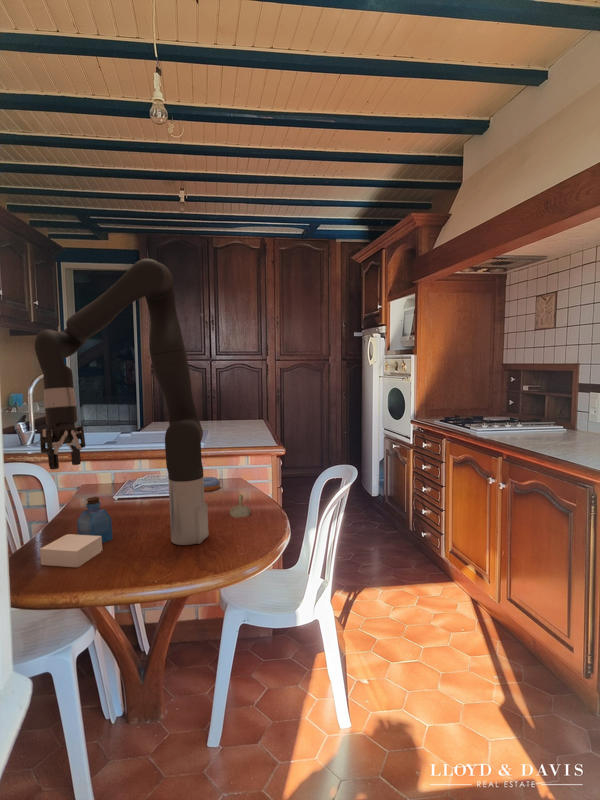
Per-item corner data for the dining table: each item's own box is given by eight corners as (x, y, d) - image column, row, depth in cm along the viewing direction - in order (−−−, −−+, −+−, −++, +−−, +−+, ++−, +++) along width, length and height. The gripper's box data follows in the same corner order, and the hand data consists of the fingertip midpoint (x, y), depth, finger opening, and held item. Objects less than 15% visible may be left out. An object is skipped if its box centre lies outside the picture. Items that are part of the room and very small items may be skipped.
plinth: (102, 551, 127) (101, 536, 126) (77, 567, 117) (76, 551, 116) (68, 548, 129) (67, 534, 128) (41, 564, 119) (40, 548, 118)
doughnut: (220, 483, 191) (219, 472, 190) (220, 492, 181) (218, 480, 180) (195, 487, 190) (193, 476, 189) (193, 496, 180) (191, 484, 179)
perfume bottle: (112, 539, 135) (110, 497, 134) (92, 547, 129) (89, 503, 128) (98, 535, 138) (96, 494, 137) (78, 543, 133) (75, 499, 132)
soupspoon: (229, 521, 151) (250, 521, 152) (229, 511, 150) (250, 511, 151) (231, 498, 173) (250, 498, 173) (231, 489, 172) (250, 489, 173)
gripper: (54, 405, 122) (59, 469, 122) (90, 404, 136) (95, 462, 135) (28, 407, 123) (33, 471, 123) (66, 406, 137) (71, 464, 137)
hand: (65, 466), depth 129 cm, fingers open, 8 cm apart
